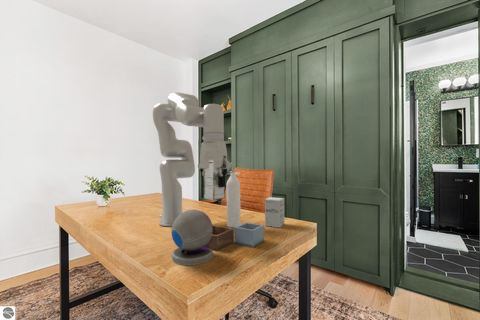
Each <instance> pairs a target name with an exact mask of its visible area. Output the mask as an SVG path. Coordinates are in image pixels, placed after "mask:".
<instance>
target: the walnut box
mask: <svg viewBox="0 0 480 320" xmlns="http://www.w3.org/2000/svg"><path fill="white" fill-rule="evenodd" d="M212 226H213V232H212V236H211V239H210V241H209V242H208V244H207V245H206V246H205V248H208V249H209V250H212V251H216V252H217V251H220V250H222V249H223V248H226V247H228V246H229V245H232V244H234V243H235V228H231V227H225V226H221V225H215V224H212Z"/></svg>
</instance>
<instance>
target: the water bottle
mask: <svg viewBox="0 0 480 320" xmlns="http://www.w3.org/2000/svg"><path fill="white" fill-rule="evenodd" d="M240 174H241V172H240V171H235V172H230V176H229V177H228V179H227V181H226V182H225V188H226V226H227V228H231V229H235V227H236V226H239V225H241V224H242V222H241V219H242V218H241V217H242V216H241V210H242V208H241V181H240V180H239V179H238V177H237V175H240Z"/></svg>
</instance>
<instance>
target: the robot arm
mask: <svg viewBox="0 0 480 320" xmlns="http://www.w3.org/2000/svg"><path fill="white" fill-rule="evenodd" d="M224 112H225V111H224V107H223V106H222V105H221V104H219V103H218V104H217V103H207V104H205V105H204V106H203V107H200V102H199V99H198V97H197V96H196V95H194V94H189V93H183V92H172V93H170V94H169V96H168V97H167V103H157V104H155V105H154V106H153V109H152V119H153V123H154V125H155V128H156V131H157V135H158V142H159V149H160V150H159V151H160V154H161V157H163V158H167V159H166V160H162V162H161V163H160V164H159V173H160V178H161V209H162V211H161V214H159V215H158V218H160V219H161V220H159V221H158V225H160V226H162V227H172V225H173V223H174V221H175V219H176V218H177V217H178V216H179V215H180V214H181V213H183V190H182V189H183V187H182V184H181V183H180V181H179V180H178V179H189V178H192V177H193V176H194V175H195V172H196V166H195V160H194V159H195V158H194V152H193V148H192V144H191V143H190V142H189V141H188V140H185V139H178V138H177V136H176V131H175V129H174V127H173V126H172V125H171V124H170V122H176V123H181V124H183V125H184V126H188V127H197V128H203V133H202V134H203V136H202V140H203V142H202V143H201V145H200V152H199V163H198V164H197V168H198V169H199V171H200V173H201V175H202V176H203V177H204V169H207V168H209V163H208V162H210V160H214V168H215V169H218V172H219V175H220V176H219V177H218V184H219V187H220V188H221V187H225V188H226V177H227V175H228V173H229V172H230V170H231V169H232V168H233V164H232V163H231V162H230V161H229V160H228V150H227V144H226V141H225V135H224V134H225V133H224V132H225V127H224V125H225V124H224V122H225V121H224V120H225V118H224ZM223 163H224V165H223ZM222 166H223V167H222Z"/></svg>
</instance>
